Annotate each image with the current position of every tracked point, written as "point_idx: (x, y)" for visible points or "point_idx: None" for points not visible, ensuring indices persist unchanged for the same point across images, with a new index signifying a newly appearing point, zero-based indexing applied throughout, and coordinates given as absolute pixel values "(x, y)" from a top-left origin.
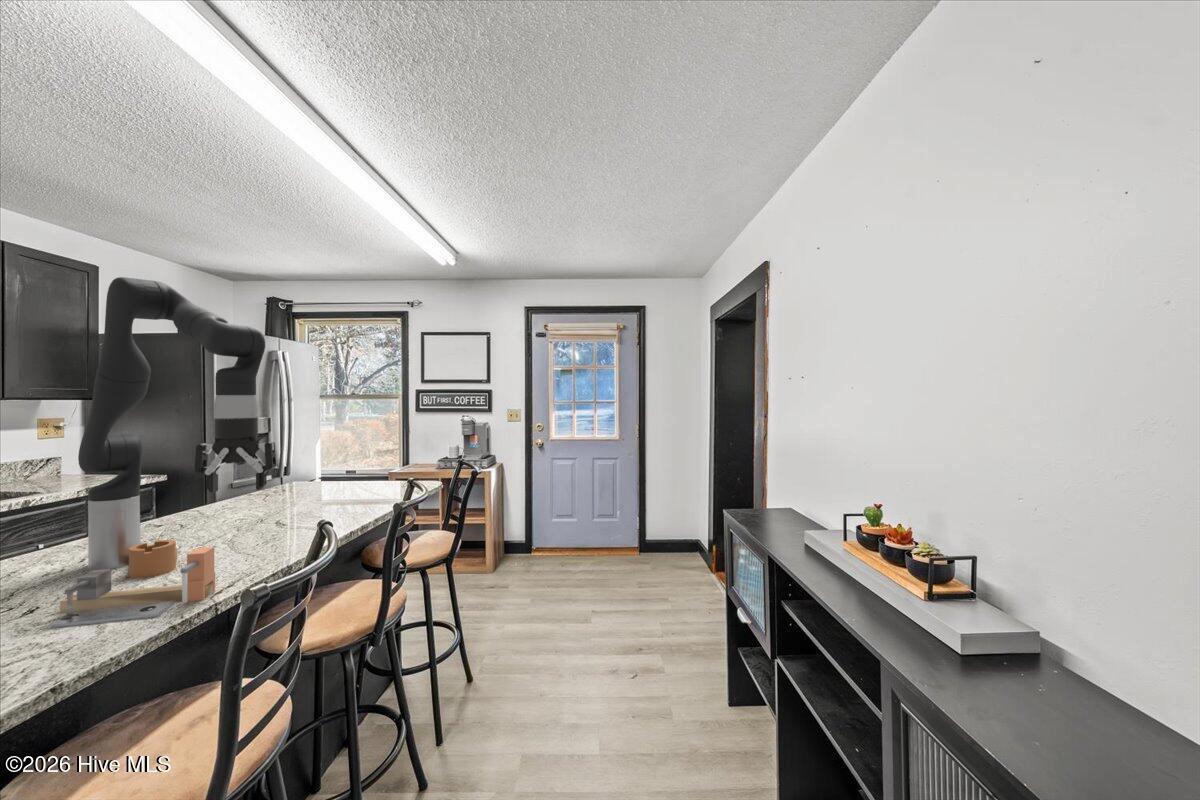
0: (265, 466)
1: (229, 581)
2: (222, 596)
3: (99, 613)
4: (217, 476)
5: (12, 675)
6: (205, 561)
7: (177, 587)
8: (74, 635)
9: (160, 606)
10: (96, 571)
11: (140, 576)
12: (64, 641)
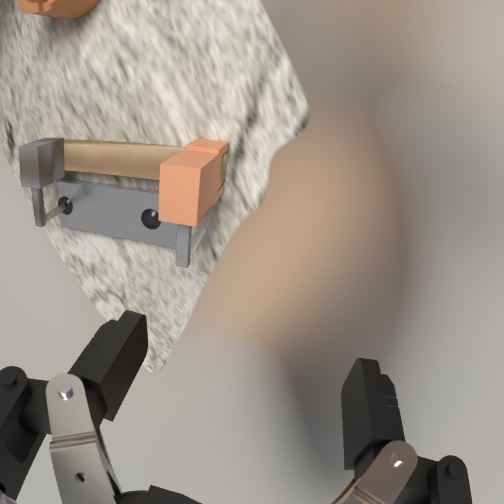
0: (397, 498)
1: (241, 85)
2: (252, 181)
3: (92, 208)
4: (108, 375)
5: None
6: (203, 211)
7: None
8: (102, 254)
9: None
10: (25, 155)
11: (69, 18)
12: (103, 268)
